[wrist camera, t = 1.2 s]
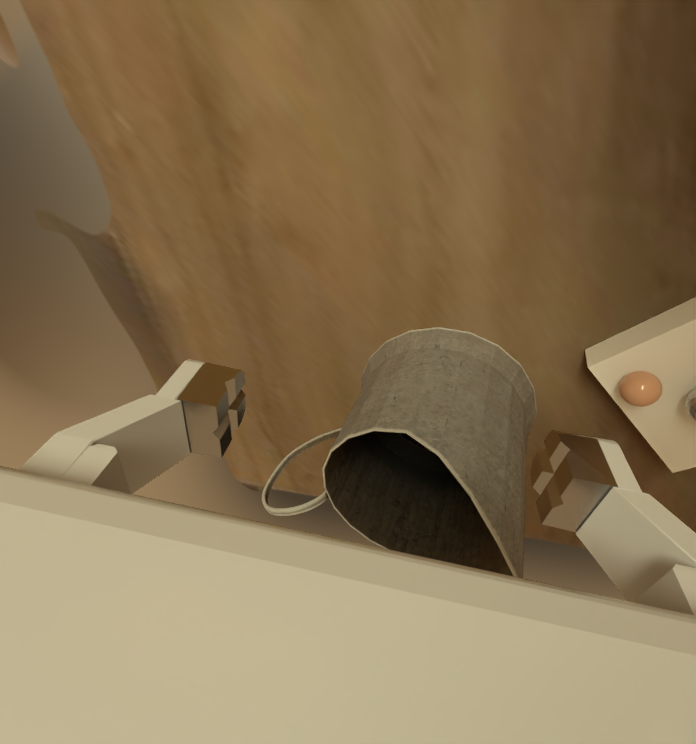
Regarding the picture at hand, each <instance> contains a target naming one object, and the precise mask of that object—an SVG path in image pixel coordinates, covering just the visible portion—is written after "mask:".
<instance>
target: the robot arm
mask: <svg viewBox="0 0 696 744" xmlns="http://www.w3.org/2000/svg"><path fill="white" fill-rule="evenodd" d="M244 383H245V378H244V372H243V371H242V370H239V369H234V368H230V367H225V366H220V365H216V364H211V363H205V362H200V361H196V360H191V359H188V360H186V361H184V362H183V363H182V365H181V366H180V367H179V368H178V369H177V370H176V372H175V373H174V374H173V375H172V376H171V378H170V379H169V380H168V381H167V382H166V383H165V385H164V386H163V387H162V388H161V389H160V391H159V392H158V393H157V394H156V395H148V396H145V397H143V398H140V399H138V400H135V401H133V402H131V403H128V404H126V405H123V406H121V407H119V408H116V409H114V410H111V411H109V412H106V413H104V414H102V415H99V416H97V417H94V418H92V419H89V420H87V421H84V422H82V423H79V424H77V425H75V426H72V427H70V428H67V429H65V430H63V431H60V432H58V433H56V434H55V435H53V437H51V438H50V440H48V441H47V442H46V443H45V444H44V445H43V446H42V447H41V448H40V449H39V450H38V451H37V452H36V453H35V454H34V455H33V456H32V457H31V458H30V459H29V460H28V461H27V462H26V463H25V464H24V465H23V466H22V467H21V468H20V469H19V470H17V469H13V468H8V467H4V466H0V744H696V533H695V532H694V531H692V530H691V529H690V528H689V527H688V526H686V525H685V524H684V523H683V522H682V521H680V520H679V519H678V518H677V517H676V516H675V515H673V514H672V513H671V512H670V511H669V510H667V509H666V508H665V507H664V506H663V505H661V504H660V503H659V502H658V501H657V500H656V499H654V498H653V497H652V496H651V495H650V494H647V493H642V491H641V489H640V487H639V485H638V483H637V481H636V479H635V477H634V475H633V473H632V471H631V468H630V466H629V464H628V462H627V460H626V458H625V456H624V454H623V452H622V450H621V448H620V446H619V445H618V444H617V443H616V442H615V441H613V440H607V439H601V438H595V437H593V438H592V437H587V436H582V435H577V434H571V433H566V432H561V431H555V430H552V431H551V432H550V433H548V435H547V437H546V438H545V440H544V442H545V445H546V448H545V449H543V450H541V451H539V452H537V454H536V456H535V458H534V460H533V462H532V467H531V482H532V486H533V488H534V489H535V490H536V491H537V492H538V494H539V495H540V496H539V498H538V500H537V501H536V503H537V507H538V512H539V516H540V520H541V524H543V525H547V526H551V527H555V528H560V529H564V530H568V531H573V532H577V533H576V535H577V536H578V538H579V539H580V540H581V541H582V543H583V544H584V545H585V547H586V548H587V549H588V551H589V552H590V553H591V554H592V556H593V557H594V558H595V559H596V561H597V562H598V563H599V565H600V566H601V567H602V569H603V570H604V571H605V572H606V574H607V575H608V576H609V578H610V579H611V580H612V581H613V583H614V584H615V585H616V587H617V588H618V589H619V591H620V592H621V593H622V594H623V595H624V597H625V598H626V599H627V601H625V600H620V599H616V598H611V597H607V596H602V595H597V594H593V593H588V592H584V591H579V590H574V589H570V588H565V587H560V586H555V585H551V584H546V583H542V582H537V581H533V580H528V579H523V578H519V577H514V576H509V575H505V574H500V573H495V572H491V571H486V570H482V569H477V568H472V567H468V566H463V565H458V564H454V563H449V562H444V561H440V560H435V559H430V558H426V557H421V556H417V555H412V554H407V553H403V552H398V551H393V550H389V549H384V548H379V547H375V546H370V545H366V544H361V543H356V542H352V541H347V540H342V539H338V538H333V537H329V536H324V535H319V534H315V533H310V532H305V531H300V530H296V529H291V528H287V527H282V526H278V525H273V524H268V523H264V522H259V521H254V520H250V519H245V518H240V517H235V516H231V515H226V514H222V513H217V512H213V511H208V510H203V509H198V508H194V507H189V506H185V505H180V504H175V503H171V502H166V501H162V500H156V499H152V498H147V497H143V496H138V495H133V494H132V493H134V492H135V491H137V490H138V489H140V488H141V487H143V486H144V485H146V484H147V483H149V482H150V481H152V480H153V479H155V478H156V477H157V476H159V475H160V474H162V473H163V472H165V471H166V470H168V469H169V468H171V467H172V466H174V465H175V464H177V463H178V462H179V461H181V460H183V459H184V458H185V457H187V456H188V455H190V453H196V454H202V455H207V456H213V457H218V458H222V457H223V455H224V453H225V451H226V449H227V447H228V446H229V444H230V442H231V440H232V438H231V431H233V430H235V429H237V428H238V427H239V425H240V423H241V421H242V418H243V415H244V412H245V405H246V395H245V394H244V392H243V391H242V390H241V388H242V387H243V385H244Z"/></svg>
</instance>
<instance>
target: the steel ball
mask: <svg viewBox="0 0 696 744" xmlns="http://www.w3.org/2000/svg"><path fill="white" fill-rule="evenodd" d="M685 408H686V411H687V413H688V415H689V416H690V417H691V418H692V419H693V420H694V421H696V388H695V389H694V390H692V391H691V392H690V393H689V394H688V396H687V398H686V401H685Z"/></svg>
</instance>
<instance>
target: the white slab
mask: <svg viewBox="0 0 696 744" xmlns="http://www.w3.org/2000/svg"><path fill="white" fill-rule="evenodd" d="M585 354H586V360H587V366H588V368H589V370H590V371H591V372H592V373H593V375H594V376H595V377H596V378H597V380H598V381H599V382H600V383H601V385H602V386H603V387H604V388H605V390H606V391H607V392H608V393H609V395H610V396H611V397H612V398H613V400H614V401H615V402H616V403H617V405H618V406H619V407H620V408H621V409H622V411H623V412H624V413H625V414H626V416H627V417H628V418H629V419H630V421H631V422H632V423H633V424H634V426H635V427H636V428H637V429H638V431H639V432H640V433H641V434H642V436H643V437H644V438H645V439H646V441H647V442H648V443H649V444H650V446H651V447H652V448H653V449H654V450H655V452H656V453H657V454H658V455H659V457H660V458H661V459H662V460H663V462H664V463H665V464H666V465H667V467H668V468H669V469H670V470H671V472H672V473H675V472H678V471H682V470H686V469H690V468H694V467H696V421H694V420H693V419H692V418H691V417H690V416H689V415H688V413H687V411H686V408H685V401H686V398H687V396H688V394H689V393H690V392H691V391H692V390H694V389H695V388H696V297H695V298H692V299H690V300H688V301H686V302H684V303H682V304H680V305H678V306H676V307H674V308H671V309H669V310H667V311H665V312H663V313H661V314H659V315H657V316H655V317H653V318H650V319H648V320H646V321H644V322H642V323H640V324H638V325H636V326H634V327H632V328H629V329H627V330H625V331H623V332H621V333H619V334H617V335H615V336H613V337H611V338H608V339H606V340H604V341H602V342H600V343H598V344H596V345H594V346H592V347H590V348H587V349H585ZM634 371H646V372H649V373H652V374H654V375H655V376H656V377H657V378H658V379H659V380H660V382H661V384H662V388H663V390H662V395H661V397H660V398H659V399H658V401H656V402H655V403H654V404H652V405H649V406H644V407H639V406H634V405H631V404H629V403H627V402H626V401H625V400H624V399H623V398H622V397H621V395H620V392H619V384H620V382H621V380H622V379H623V377H625V376H626V375H627V374H629V373H631V372H634Z"/></svg>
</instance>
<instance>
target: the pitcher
mask: <svg viewBox="0 0 696 744" xmlns="http://www.w3.org/2000/svg"><path fill="white" fill-rule="evenodd" d="M536 413H537V408H536V399H535V390H534V387H533V385H532V383H531V381H530V380H529V378H528V376H527V374H526V373H525V371H524V369H523V367H522V365H521V364H520V363H518V362H517V361H516V360H515V359H514V358H513V357H512V356H510V355H509V354H508V353H507V352H506V351H505V350H504V349H502V348H501V347H500V346H499V345H497V344H495V343H493V342H490V341H488V340H486V339H484V338H482V337H480V336H477V335H475V334H473V333H471V332H466V331H460V330H453V329H447V328H441V327H436V328H428V329H419V330H411V331H408V332H406V333H403V334H401V335H399V336H397V337H394V338H392V339H390V340H388V341H386V342H385V343H384V344H383V345H382V346H381V347H380V348H379V349H378V350H377V351H376V352H375V353H374V354H373V355H372V356H370V358H369V360H368V363H367V365H366V367H365V370H364V372H363V374H362V391H361V393H360V395H359V397H358V399H357V400H356V402H355V404H354V406H353V408H352V410H351V412H350V414H349V416H348V418H347V420H346V421H345V423H344V425H343V427H342V428H341V429H337V430H334V431H330V432H328V433H325V434H322V435H320V436H318V437H316V438H313V439H311V440H310V441H308V442H306V443H304V444H302V445H301V446H299V447H298V448H296V449H295V450H293V451H292V452H291V453H289V454H288V455H287V456H286V457H285V458H284V459H283V460H282V461H281V463H280V464H279V465H278V466H277V468H276V469H275V471H274V472H273V474H272V475H271V477H270V478H269V480H268V482H267V483H266V485H265V487H264V490H263V494H262V503H263V505H264V507H265V509H266V510H267V511H268V512H269V513H271V514H272V515H278V516H287V515H294V514H299V513H303V512H305V511H308V510H311V509H313V508H315V507H316V506H319V505H320V504H321V503H323V502H324V501H326V500H327V499H328V498H329V499H330V501H331V503H332V505H333V507H334V508H335V509H336V511H337V512H338V513H339V514H340V515H341V516H342V517H343V519H344V520H345V521H346V522H347V523H348V524H349V525H350V526H351V527H352V528H354V529H355V530H356V531H358V532H359V533H360V534H362V535H363V536H364V537H365V538H367V539H368V540H370V541H371V542H373V543H375V544H377V545H379V546H381V547H383V548H385V549H389V550H393V551H398V552H403V553H407V554H412V555H417V556H421V557H426V558H430V559H435V560H440V561H444V562H449V563H454V564H458V565H463V566H468V567H472V568H477V569H482V570H486V571H491V572H495V573H500V574H505V575H509V576H514V577H519V578H523V559H524V520H525V480H526V439H527V435H528V434H529V433H530V430H531V428H532V425H533V422H534V419H535V416H536ZM401 433H406V434H408V435H409V436H410V437H412V438H413V439H415V440H416V441H418V442H419V443H420V444H422V445H423V446H425V447H426V448H428V449H429V450H426V449H424V448H422V447H420V446H418V445H416V444H413V443H412V442H411V441H409V440H408V439H407V438H406V437H404V436H403V435H402V434H401ZM336 436H338V437H337V439H336V441H335V442H334V444H333V446H332V448H331V450H330V452H329V455H328V457H327V459H326V462H325V464H324V466H323V481H324V489H325V492H324V493H323V494H321V495H320V496H318V497H317V498H316V499H314V500H312V501H310V502H308V503H305V504H303V505H300V506H296V507H291V508H284V509H283V508H282V509H281V508H279V509H278V508H272V507H270V506H268V501H267V500H268V495H269V492H270V490H271V488H272V486H273V484H274V482H275V481H276V479H277V478H278V476H279V475H280V473H281V472H282V470H283V469H284V468H285V467H286V465H287V464H288V463H289V462H290V461H291V460H292V459H294V458H295V457H296V456H297V455H299V454H300V453H302V452H303V451H305V450H307V449H308V448H310V447H312V446H314V445H316V444H318V443H320V442H322V441H325V440H327V439H330V438H333V437H336ZM430 450H431V451H430Z"/></svg>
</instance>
